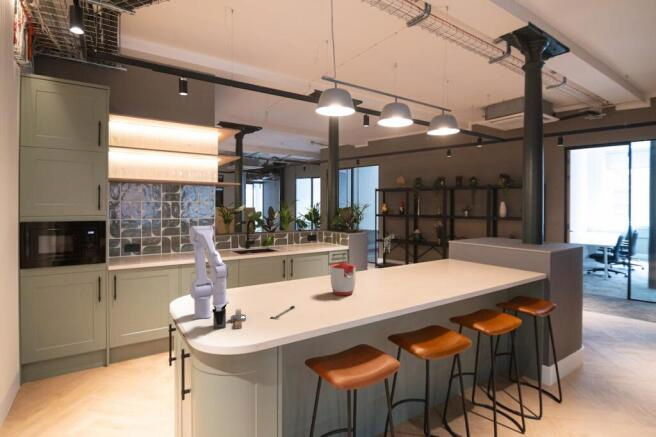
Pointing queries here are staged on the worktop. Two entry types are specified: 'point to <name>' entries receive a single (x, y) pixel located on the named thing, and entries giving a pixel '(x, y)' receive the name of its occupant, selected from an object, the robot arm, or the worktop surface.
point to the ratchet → (238, 319)
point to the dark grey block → (222, 322)
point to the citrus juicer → (343, 278)
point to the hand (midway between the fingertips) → (219, 322)
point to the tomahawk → (283, 313)
